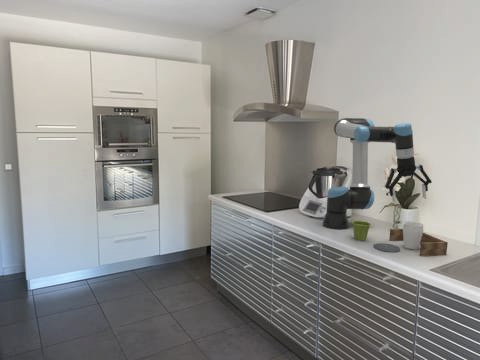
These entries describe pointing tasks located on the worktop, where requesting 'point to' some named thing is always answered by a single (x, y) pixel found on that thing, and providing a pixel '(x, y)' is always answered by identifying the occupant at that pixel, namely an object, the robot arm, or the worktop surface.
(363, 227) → the plant pot
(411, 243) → the cup
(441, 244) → the u-shaped wooden rail
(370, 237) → the worktop surface
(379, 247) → the disc
